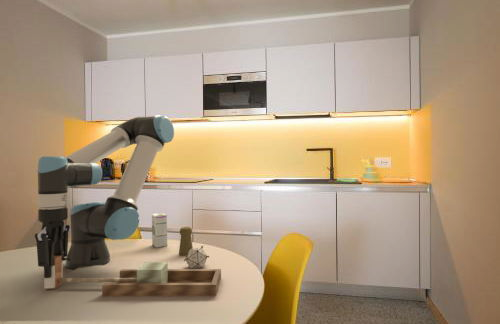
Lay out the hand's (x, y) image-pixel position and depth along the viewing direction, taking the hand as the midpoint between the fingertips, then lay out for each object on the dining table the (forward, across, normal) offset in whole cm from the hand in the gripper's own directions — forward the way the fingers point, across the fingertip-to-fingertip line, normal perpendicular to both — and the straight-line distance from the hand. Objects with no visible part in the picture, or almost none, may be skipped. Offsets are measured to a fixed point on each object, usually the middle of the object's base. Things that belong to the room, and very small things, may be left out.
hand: (53, 285), depth 95 cm
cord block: (+1, 0, -16) cm, 16 cm away
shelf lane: (+2, 0, -34) cm, 34 cm away
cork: (+2, +38, -32) cm, 50 cm away
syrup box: (+2, +51, -18) cm, 54 cm away
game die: (+2, +17, -40) cm, 44 cm away
